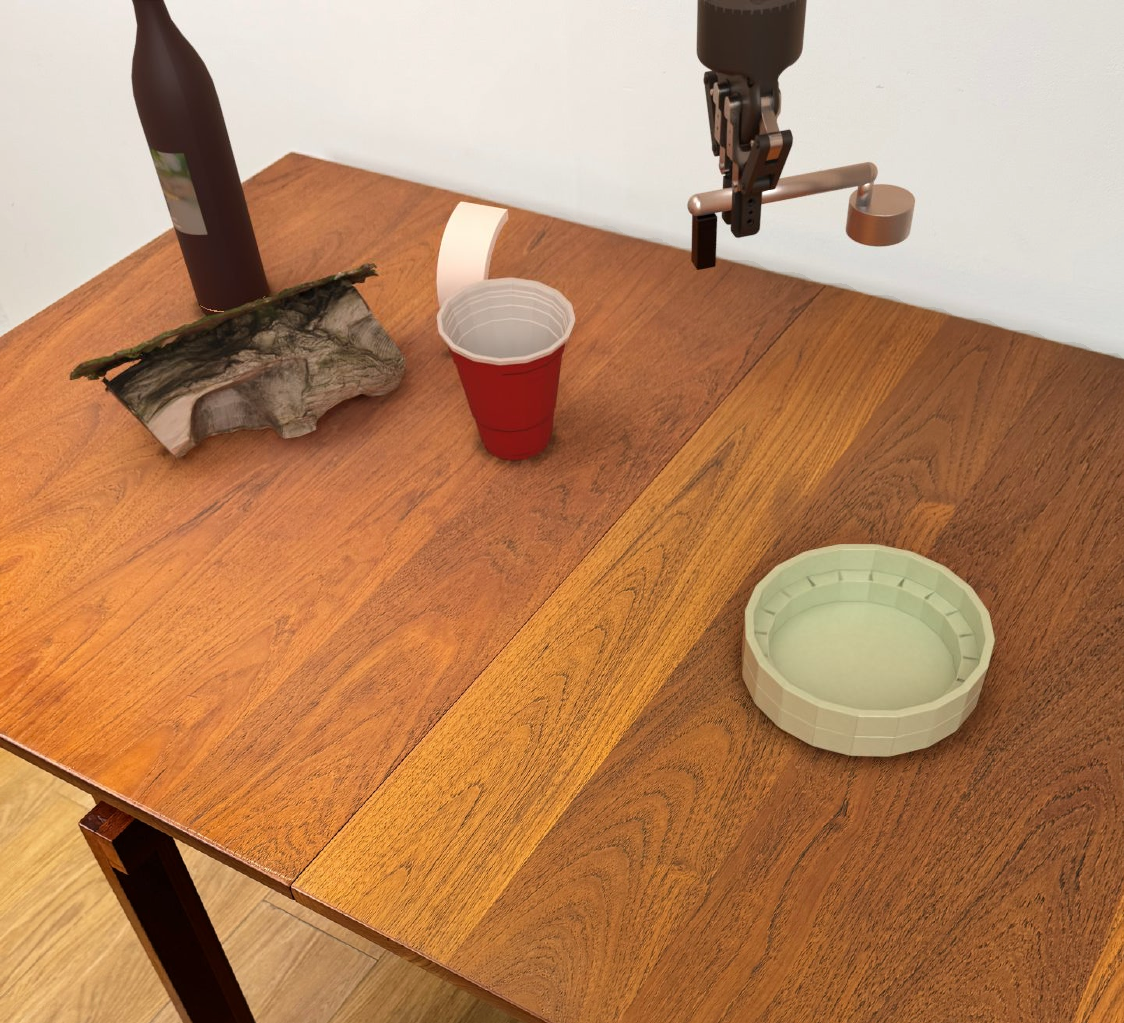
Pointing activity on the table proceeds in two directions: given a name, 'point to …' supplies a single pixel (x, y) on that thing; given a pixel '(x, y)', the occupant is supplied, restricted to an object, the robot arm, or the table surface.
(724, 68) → the robot arm
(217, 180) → the wine bottle
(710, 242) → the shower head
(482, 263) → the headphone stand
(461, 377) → the plastic cup
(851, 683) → the bowl
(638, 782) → the table surface
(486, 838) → the table surface
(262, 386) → the mossy driftwood chunk
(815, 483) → the table surface
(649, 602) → the table surface
